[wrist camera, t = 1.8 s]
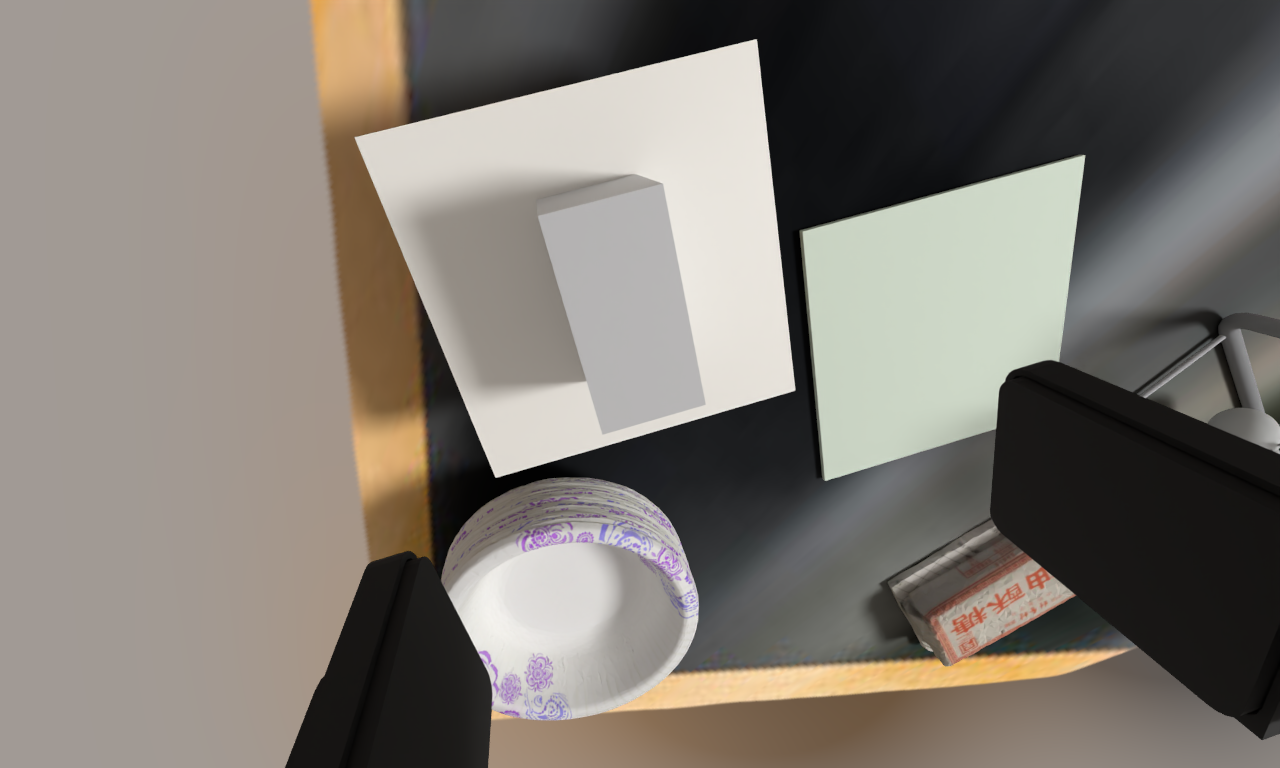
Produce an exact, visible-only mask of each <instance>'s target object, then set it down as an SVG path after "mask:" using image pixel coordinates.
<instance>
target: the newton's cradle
mask: <svg viewBox="0 0 1280 768" xmlns="http://www.w3.org/2000/svg"><path fill="white" fill-rule="evenodd" d="M1241 329H1246V330H1251V331H1254V332H1258V333H1262V334H1266V335H1269V336H1273V337H1277V338H1280V320H1278V319H1274V318H1270V317H1266V316H1262V315H1257V314H1251V313H1235V314H1232V315H1230V316H1227V317H1225V318H1224V319H1223V320H1222V321H1221V322H1220V324H1219V326H1218V331H1219V336H1218V337H1216V338H1215V339H1214V340H1212V341H1211V342H1210V343H1208V344H1207V345H1206V346H1204V347H1203V348H1202V349H1200V350H1199V351H1198V352H1196V353H1195V354H1194V355H1192V356H1191V357H1190V358H1188V359H1187V360H1186V361H1185V362H1183V363H1182V364H1181V365H1179V366H1178V367H1177V368H1175V369H1174V370H1173V371H1171V372H1170V373H1169V374H1167V375H1166V376H1165V377H1163V378H1162V379H1161V380H1159V381H1158V382H1157V383H1155V384H1154V385H1153V386H1151V387H1150V388H1149V389H1147V390H1146V391H1145V392H1143V393H1142V394H1141V395H1139V396H1142V397H1144V398H1146V397H1148V396H1149V395H1151V394H1152V393H1153V392H1155V391H1156V390H1157V389H1159V388H1160V387H1161V386H1163V385H1164V384H1165V383H1167V382H1168V381H1169V380H1171V379H1172V378H1173V377H1175V376H1176V375H1177V374H1179V373H1180V372H1181V371H1183V370H1184V369H1185V368H1187V367H1188V366H1189V365H1191V364H1192V363H1193V362H1195V361H1196V360H1197V359H1199V358H1200V357H1201V356H1203V355H1204V354H1205V353H1207V352H1208V351H1209V350H1211V349H1212V348H1213V347H1215V346H1216V345H1217V344H1219V343H1220V342H1222V346H1223V349H1224V352H1225V355H1226V358H1227V361H1228V364H1229V367H1230V371H1231V374H1232V377H1233V380H1234V383H1235V386H1236V389H1237V393H1238V396H1239V399H1240V402H1241V405H1242V408H1233V409H1228V410H1225V411H1222V412H1220V413H1218V414H1216V415H1215V416H1214V417H1213V418H1211V420H1210V421H1209V422H1208V424H1209V425H1211V426H1214V427H1216V428H1219V429H1221V430H1223V431H1226V432H1228V433H1231V434H1233V435H1235V436H1238V437H1240V438H1243V439H1245V440H1247V441H1250V442H1252V443H1255V444H1257V445H1259V446H1262V447H1264V448H1267V449H1269V450H1271V451H1274V452H1276V453H1279V454H1280V451H1279V450H1278V449H1279V447H1280V427H1279V425H1278V423H1277V422H1276V421H1275V420H1274V419H1273V418H1272V417H1270V416H1269V415H1267V414H1265V411H1264V408H1263V405H1262V401H1261V398H1260V394H1259V391H1258V388H1257V384H1256V381H1255V377H1254V374H1253V371H1252V367H1251V364H1250V360H1249V357H1248V353H1247V350H1246V347H1245V343H1244V340H1243V336H1242V333H1241Z"/></svg>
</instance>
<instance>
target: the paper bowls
mask: <svg viewBox="0 0 1280 768" xmlns="http://www.w3.org/2000/svg"><path fill="white" fill-rule="evenodd" d="M441 582H442V584H443V586H444V588H445V590H446V592H447V594H448V596H449V597H450V599H451V601H452V603H453V605H454V607H455V609H456V611H457V613H458V615H459V617H460V619H461V621H462V623H463V625H464V626H465V628H466V630H467V632H468V634H469V636H470V638H471V640H472V642H473V644H474V646H475V648H476V650H477V652H478V654H479V656H480V657H481V659H482V661H483V663H484V665H485V667H486V669H487V671H488V674H489V676H490V680H491V685H492V710H494V711H497V712H500V713H503V714H505V715H509V716H513V717H519V718H524V719H531V720H566V719H573V718H580V717H586V716H591V715H595V714H599V713H603V712H606V711H609V710H611V709H614V708H617V707H619V706H621V705H624V704H626V703H628V702H630V701H632V700H634V699H636V698H638V697H639V696H641V695H643V694H644V693H646V692H647V691H649V690H650V689H652V688H653V687H655V686H656V685H657V684H659V683H660V682H661V681H662V680H663V679H665V678H666V677H667V676H668V675H669V674H670V673H671V672H672V671H673V669H674V668H675V667H676V666H677V665H678V664H679V662H680V661H681V660H682V658H683V657H684V655H685V653H686V652H687V650H688V648H689V646H690V644H691V642H692V640H693V637H694V634H695V631H696V627H697V622H698V609H699V607H698V605H699V603H698V594H697V590H696V586H695V582H694V579H693V577H692V574H691V571H690V569H689V565H688V561H687V559H686V556H685V553H684V551H683V548H682V545H681V542H680V539H679V537H678V535H677V533H676V531H675V529H674V527H673V526H672V524H671V522H670V521H669V519H668V518H667V517H666V516H665V514H664V513H663V512H662V511H661V510H660V509H659V508H658V507H657V506H655V505H654V504H653V503H652V502H651V501H649V500H648V499H647V498H646V497H644V496H642V495H641V494H639V493H637V492H636V491H634V490H632V489H629V488H627V487H625V486H622V485H619V484H615V483H612V482H608V481H604V480H599V479H592V478H551V479H545V480H540V481H536V482H533V483H530V484H527V485H525V486H520V487H518V488H515V489H512V490H510V491H508V492H506V493H504V494H502V495H501V496H499V497H496V498H495V499H493V500H491V501H490V502H488V503H487V504H486V505H484V506H483V507H481V508H480V509H479V510H478V511H477V512H476V513H475V514H474V515H473V516H472V517H471V518H470V519H469V520H468V521H467V522H466V523H465V524H464V525H463V527H462V528H461V529H460V531H459V533H458V534H457V535H456V537H455V539H454V541H453V542H452V544H451V546H450V548H449V551H448V555H447V558H446V561H445V565H444V568H443V572H442V579H441Z"/></svg>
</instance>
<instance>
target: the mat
mask: <svg viewBox="0 0 1280 768" xmlns="http://www.w3.org/2000/svg"><path fill="white" fill-rule="evenodd" d="M1084 160H1085V155H1077V156H1073V157H1070V158H1066V159H1062V160H1058V161H1055V162H1051V163H1047V164H1044V165H1040V166H1036V167H1033V168H1029V169H1025V170H1022V171H1018V172H1014V173H1010V174H1007V175H1003V176H999V177H996V178H992V179H988V180H985V181H981V182H977V183H973V184H970V185H966V186H962V187H959V188H955V189H951V190H948V191H944V192H940V193H937V194H933V195H929V196H925V197H922V198H918V199H914V200H911V201H907V202H903V203H900V204H896V205H892V206H888V207H885V208H881V209H877V210H874V211H870V212H866V213H863V214H859V215H855V216H852V217H848V218H844V219H840V220H837V221H833V222H829V223H826V224H822V225H818V226H815V227H811V228H807V229H803V230H800V241H801V252H802V263H803V274H804V284H805V295H806V306H807V317H808V328H809V339H810V349H811V360H812V371H813V382H814V393H815V404H816V414H817V425H818V436H819V447H820V458H821V469H822V478H823V479H824V480H825V481H827V480H830V479H833V478H836V477H840V476H843V475H846V474H850V473H853V472H856V471H859V470H863V469H866V468H869V467H872V466H876V465H879V464H882V463H886V462H889V461H892V460H895V459H899V458H902V457H905V456H909V455H912V454H915V453H918V452H922V451H925V450H928V449H932V448H935V447H938V446H941V445H945V444H948V443H951V442H954V441H958V440H961V439H964V438H968V437H971V436H974V435H977V434H981V433H984V432H987V431H991V430H994V429H996V424H997V411H998V397H999V389H1000V386H1001V385H1002V384H1003V383H1004V382H1005V379H1006V377H1007V375H1008V374H1009V372H1011V371H1013V370H1014V369H1018V368H1021V367H1024V366H1028V365H1031V364H1034V363H1038V362H1041V361H1045V360H1053V361H1058V362H1059V358H1060V350H1061V342H1062V334H1063V326H1064V318H1065V310H1066V302H1067V295H1068V287H1069V279H1070V271H1071V263H1072V255H1073V247H1074V239H1075V231H1076V223H1077V216H1078V208H1079V200H1080V192H1081V184H1082V176H1083V168H1084Z"/></svg>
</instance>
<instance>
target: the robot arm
mask: <svg viewBox="0 0 1280 768" xmlns="http://www.w3.org/2000/svg"><path fill="white" fill-rule="evenodd" d="M990 514H991V518H992V521H993V523H994V525H995V526H996V528H997V529H998V530H999V531H1000V532H1001V533H1002V534H1003V535H1004V536H1005V537H1006V538H1007V539H1009V540H1010V541H1011V542H1012V543H1014V544H1015V545H1016V546H1017V547H1018V548H1020V549H1021V550H1022V551H1023V552H1024V553H1026V554H1027V555H1028V556H1029V557H1030V558H1032V559H1033V560H1034V561H1035V562H1036V563H1038V564H1039V565H1040V566H1041V567H1042V568H1044V569H1045V570H1046V571H1047V572H1048V573H1050V574H1051V575H1052V576H1053V577H1054V578H1056V579H1057V580H1058V581H1059V582H1061V583H1062V584H1063V585H1064V586H1065V587H1067V588H1068V589H1069V590H1070V591H1071V592H1073V593H1074V594H1075V595H1076V596H1077V597H1079V598H1080V599H1081V600H1082V601H1083V602H1085V603H1086V604H1087V605H1088V606H1089V607H1091V608H1092V609H1093V610H1094V611H1095V612H1097V613H1098V614H1099V615H1100V616H1101V617H1103V618H1104V619H1105V620H1106V621H1108V622H1109V623H1110V624H1111V625H1112V626H1114V627H1115V628H1116V629H1117V630H1118V631H1120V632H1121V633H1122V634H1123V635H1124V636H1126V637H1127V638H1128V639H1129V640H1130V641H1132V642H1133V643H1134V644H1135V645H1136V646H1138V647H1139V648H1140V649H1141V650H1142V651H1144V652H1145V653H1146V654H1147V655H1149V656H1150V657H1151V658H1152V659H1153V660H1155V661H1156V662H1157V663H1158V664H1160V665H1161V666H1162V667H1163V668H1164V669H1165V670H1167V671H1168V672H1169V673H1170V674H1171V675H1173V676H1174V677H1175V678H1176V679H1178V680H1179V681H1180V682H1181V683H1182V684H1184V685H1185V686H1186V687H1187V688H1188V689H1190V690H1191V691H1192V692H1193V693H1194V694H1195V695H1197V696H1198V697H1199V698H1200V699H1202V700H1203V701H1204V702H1205V703H1206V704H1208V705H1209V706H1210V707H1212V708H1213V709H1215V710H1216V711H1218V712H1220V713H1222V714H1224V715H1227V716H1231V717H1234V718H1235V719H1237V720H1238V721H1239V722H1241V723H1242V724H1243V725H1244V726H1245V727H1247V728H1248V729H1249V730H1250V731H1251V732H1253V733H1254V734H1255V735H1256V736H1258V737H1259V738H1260V739H1261V740H1264V739H1267V738H1269V737H1272V736H1275V735H1277V734H1280V454H1279V453H1276V452H1274V451H1271V450H1269V449H1267V448H1264V447H1262V446H1259V445H1257V444H1255V443H1252V442H1250V441H1247V440H1245V439H1243V438H1240V437H1238V436H1235V435H1233V434H1231V433H1228V432H1226V431H1223V430H1221V429H1219V428H1216V427H1214V426H1211V425H1209V424H1207V423H1204V422H1202V421H1199V420H1197V419H1195V418H1192V417H1190V416H1187V415H1185V414H1183V413H1180V412H1178V411H1175V410H1173V409H1171V408H1168V407H1166V406H1163V405H1161V404H1159V403H1156V402H1154V401H1151V400H1149V399H1147V398H1144V397H1142V396H1139V395H1137V394H1135V393H1132V392H1130V391H1127V390H1125V389H1123V388H1120V387H1118V386H1115V385H1113V384H1111V383H1108V382H1106V381H1103V380H1101V379H1099V378H1096V377H1094V376H1091V375H1089V374H1087V373H1084V372H1082V371H1079V370H1077V369H1075V368H1072V367H1070V366H1067V365H1065V364H1063V363H1060V362H1058V361H1053V360H1045V361H1041V362H1038V363H1034V364H1031V365H1028V366H1024V367H1021V368H1018V369H1014V370H1013V371H1011V372H1009V374H1008V375H1007V377H1006V379H1005V382H1004V383H1003V384H1002V385H1001V386H1000V389H999V397H998V411H997V424H996V438H995V452H994V466H993V479H992V493H991V507H990ZM491 712H492V685H491V680H490V676H489V674H488V671H487V669H486V667H485V665H484V663H483V661H482V659H481V657H480V656H479V654H478V652H477V650H476V648H475V646H474V644H473V642H472V640H471V638H470V636H469V634H468V632H467V630H466V628H465V626H464V625H463V623H462V621H461V619H460V617H459V615H458V613H457V611H456V609H455V607H454V605H453V603H452V601H451V599H450V597H449V596H448V594H447V592H446V590H445V588H444V586H443V584H442V582H441V580H440V578H439V576H438V574H437V572H436V570H435V568H434V567H433V565H432V563H431V561H430V560H429V559H428V558H427V557H421V558H417V557H416V555H415V554H414V553H413V552H411V551H406V552H403V553H400V554H396V555H393V556H390V557H386V558H383V559H379V560H376V561H373V562H371V563H369V564H368V565H367V567H366V569H365V571H364V574H363V576H362V579H361V582H360V584H359V587H358V590H357V592H356V595H355V597H354V600H353V602H352V605H351V608H350V610H349V613H348V616H347V618H346V621H345V623H344V626H343V629H342V631H341V634H340V637H339V639H338V642H337V645H336V647H335V650H334V652H333V655H332V658H331V660H330V663H329V665H328V668H327V671H326V674H325V676H324V677H323V678H322V679H321V680H320V682H319V684H318V686H317V688H316V690H315V692H314V694H313V697H312V700H311V702H310V705H309V707H308V710H307V712H306V715H305V718H304V720H303V723H302V725H301V728H300V730H299V733H298V736H297V738H296V741H295V743H294V746H293V748H292V751H291V754H290V756H289V759H288V762H287V764H286V767H285V768H488V758H489V742H490V727H491Z"/></svg>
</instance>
